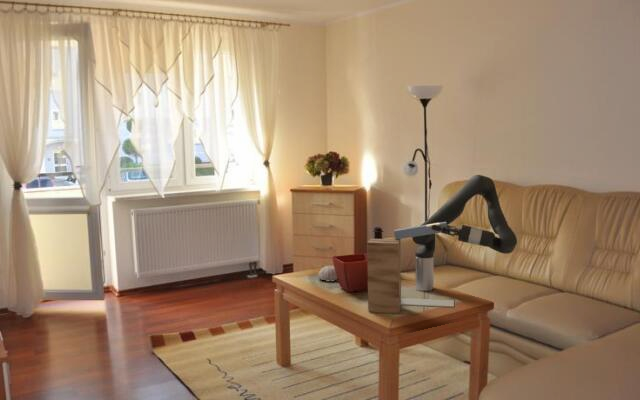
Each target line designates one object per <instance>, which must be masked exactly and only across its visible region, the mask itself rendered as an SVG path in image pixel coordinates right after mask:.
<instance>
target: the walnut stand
mask: <svg viewBox="0 0 640 400" xmlns="http://www.w3.org/2000/svg"><path fill="white" fill-rule="evenodd" d="M401 240H402V239H397V240H395V238H382V239H374V238H370V239H369V240H367V242H366V247H367V248H366V251H367V252H366V253H367V264H368V290H367V308H368V309H367V312H368V311H371V312H370V313H385V314H386V313H388V314H389V313H390V314H400V312H401V308H402V305H401V298H402V274H401V271H402V262H401V261H402V260H401V258H402V257H401V255H402V254H401V245H402V243H401Z"/></svg>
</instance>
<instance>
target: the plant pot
mask: <svg viewBox="0 0 640 400" xmlns="http://www.w3.org/2000/svg"><path fill="white" fill-rule="evenodd" d="M331 258H332V264H333V266H334V268H335V272H336V276H337V279H338V280H337V282H338V285H339V287H340V288H341V287H342V288H343V289H342V288H341V289H342V290H344V289H345V290H346V291H345V290H344V291H345V292H347V291H348V292H347V293H355V292H354V291H358V292H364V291H365V292H366V291H368V264H367V254H366V253H355V254H354V253H353V254H352V253H351V254H344V255H333V256H331Z"/></svg>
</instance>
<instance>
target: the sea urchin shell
mask: <svg viewBox="0 0 640 400" xmlns="http://www.w3.org/2000/svg"><path fill="white" fill-rule="evenodd" d="M317 278H318V279H319V280H320V279H321V280H320V281H322V280H336V281H338V280H337V276H336V272H335V268H334V265H326V266H324V267H322V268H321V269H320V271H319V272H318V274H317Z"/></svg>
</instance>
